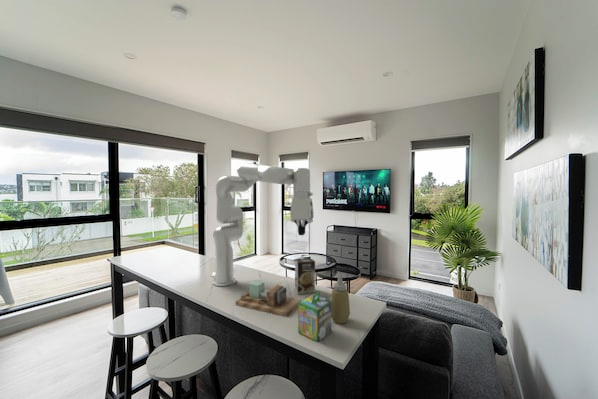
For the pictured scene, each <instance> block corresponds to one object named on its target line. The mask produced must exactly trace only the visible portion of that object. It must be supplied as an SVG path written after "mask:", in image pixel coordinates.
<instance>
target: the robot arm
mask: <svg viewBox="0 0 598 399" xmlns="http://www.w3.org/2000/svg"><path fill="white" fill-rule="evenodd" d="M236 173H237V176H236V175H225V176H222V177H220V178H219V179H218V180H217V181H216V185H215V194H216V221H217V222H218V223H219V224H221V226H218V227H216V228H215V229H214V230H213V233H212V238H213V242H214V254H215V255H214V256H215V257H214V259H215V264H214V266H215V267H214V268H215V272H212V274H211V275H210V277H211V278H213V280H212V285H214V286H217V287H226V286H230V285H234V284H235V283H236V282H237V279H236V277H234V249H233V246H232V244H231V243H233V242H235V241H238V240H241V238H243V232H244V230H243V229H244V213H243V212H244V211H243V209H242V208H241V207H240V206H237V205H233V204H234V203H233V201H234V198H233V196H232V193H231V192H234V193H238V192H246V191H247V190H249V189H250V188H251V187H253V185H254V184H256V183H257V182H260V183H261V182H262V183H270V184H277V185H293V197H292V200H291V203H290V204H291V205H290V213H289V214H290V221H291V222H292V223H294V224H295V225H296V226H297V233H298V236H304V235H305V233H306V227H307V226H308V224H311V223H313V222H314V220H313V218H314V216H315V215H314V214H315V213H314V205H313V204H314V203H313V198H311V196H313V192H311V171H310V169H309V168H307V167H306V168H305V167H295V168H289V167H279V166H270V165H266V164H259V163H249V162H242V163H241V164H239V165H238V166H237V169H236ZM222 224H223V225H222ZM224 224H228V225H224Z"/></svg>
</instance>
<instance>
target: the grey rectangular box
mask: <svg viewBox="0 0 598 399" xmlns="http://www.w3.org/2000/svg"><path fill="white" fill-rule="evenodd" d="M269 290H270V289H264V290H263V291H262V292H261V300H264V301H267V292H268V291H269ZM286 297H287V287H285V286H283V288H281V289H280V290H279V291H277V294H276V303H277V305H281V304H282V303H283V302H284V301H286Z"/></svg>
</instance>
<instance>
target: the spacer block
mask: <svg viewBox="0 0 598 399" xmlns="http://www.w3.org/2000/svg"><path fill="white" fill-rule="evenodd" d="M248 286H249V290H248V291H249V297H251V298H256V299H261V292H262V291H263V290H265V281H262V280H254V281H252V282H250V283H249V285H248Z"/></svg>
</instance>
